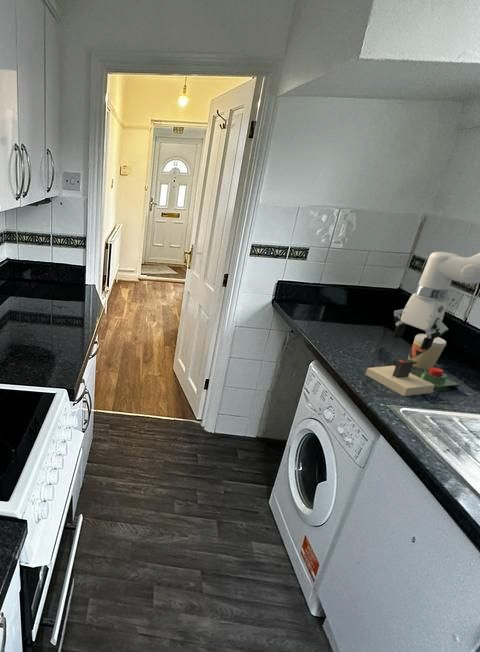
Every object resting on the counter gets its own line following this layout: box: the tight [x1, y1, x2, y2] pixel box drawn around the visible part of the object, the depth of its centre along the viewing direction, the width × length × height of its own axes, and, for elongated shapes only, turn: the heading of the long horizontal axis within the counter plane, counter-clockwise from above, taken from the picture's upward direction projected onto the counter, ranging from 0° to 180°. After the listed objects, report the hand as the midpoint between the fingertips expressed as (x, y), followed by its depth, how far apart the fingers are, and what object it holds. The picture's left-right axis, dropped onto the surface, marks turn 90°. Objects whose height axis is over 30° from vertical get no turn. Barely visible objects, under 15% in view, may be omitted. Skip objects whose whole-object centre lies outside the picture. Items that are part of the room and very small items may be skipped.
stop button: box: [429, 366, 444, 376], centre depth 141 cm, size 4×4×2 cm
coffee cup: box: [407, 333, 447, 371], centre depth 152 cm, size 9×9×12 cm
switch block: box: [410, 369, 460, 393], centre depth 142 cm, size 11×9×4 cm
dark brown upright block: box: [392, 359, 414, 378], centre depth 139 cm, size 5×2×6 cm, turn 106°
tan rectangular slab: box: [364, 365, 435, 397], centre depth 141 cm, size 15×12×3 cm
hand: (410, 343), depth 136 cm, fingers open, 9 cm apart
